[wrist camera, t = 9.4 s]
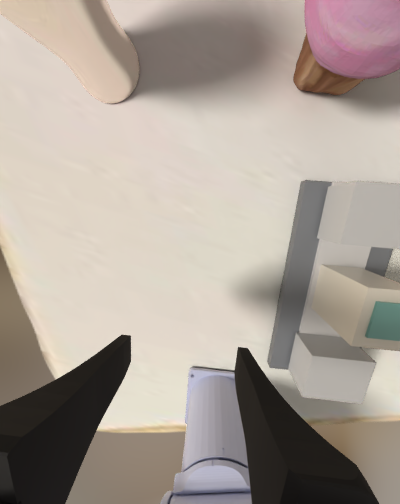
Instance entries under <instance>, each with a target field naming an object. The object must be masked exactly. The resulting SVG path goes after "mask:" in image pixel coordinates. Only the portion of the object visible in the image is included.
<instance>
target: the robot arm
mask: <svg viewBox="0 0 400 504" xmlns="http://www.w3.org/2000/svg"><path fill="white" fill-rule="evenodd" d="M130 362H131V336H129V335H121V336H119V337H118V338H117V339H115V340H114V341H113V342H112V343H110V344H109V345H108V346H106V347H105V348H104V349H102V350H101V351H100V352H98V353H97V354H96V355H94V356H93V357H91V358H90V359H88V360H87V361H85V362H84V363H82V364H81V365H80V366H78V367H76V368H75V369H73V370H72V371H70V372H68V373H67V374H65V375H63V376H62V377H60V378H58V379H56V380H54V381H53V382H51V383H49V384H47V385H45V386H43V387H41V388H39V389H37V390H35V391H33V392H31V393H29V394H27V395H25V396H22V397H20V398H18V399H16V400H13V401H11V402H9V403H6V404H4V405H1V406H0V504H65V502H66V500H67V498H68V495H69V493H70V491H71V488H72V486H73V483H74V481H75V478H76V476H77V473H78V471H79V469H80V466H81V464H82V462H83V460H84V457H85V455H86V453H87V450H88V448H89V446H90V443H91V441H92V439H93V437H94V434H95V432H96V430H97V428H98V426H99V424H100V422H101V420H102V418H103V416H104V414H105V412H106V410H107V408H108V407H109V405H110V403H111V401H112V399H113V397H114V396H115V394H116V392H117V390H118V388H119V386H120V385H121V383H122V381H123V379H124V377H125V375H126V372H127V370H128V367H129V365H130ZM191 374H193V375H191ZM185 423H186V424H187V427H186V436H185V445H184V454H183V463H182V472H181V473H176V475H175V481H174V489H173V491H168V492H166V493H165V495H164V497H163V499H162V501H161V503H160V504H379V502H378V501H377V499H376V497H375V495H374V494H373V492H372V490H371V488H370V486H369V485H368V483H367V481H366V480H365V478H364V476H363V475H362V473H361V472H360V470H359V469H358V467H357V465H356V464H354V463H353V462H352V461H350V460H349V459H348V458H347V457H345V456H344V455H343V454H342V453H340V452H339V451H338V450H337V449H336V448H334V447H333V446H332V445H331V444H329V443H328V442H327V441H326V440H325V439H324V438H323V437H322V436H320V435H319V434H318V433H317V432H316V431H315V430H314V429H313V428H312V427H311V426H309V425H308V424H307V423H306V422H305V421H304V420H303V419H302V418H301V417H300V416H299V415H298V414H297V413H296V412H295V411H294V410H293V408H292V407H291V406H290V405H289V404H288V403H287V402H286V401H285V400H284V398H283V397H282V396H281V395H280V394H279V392H278V391H277V390H276V389H275V387H274V386H273V385H272V384H271V382H270V381H269V380H268V378H267V377H266V375H265V374H264V372H263V371H262V370H261V368H260V367H259V365H258V364H257V362H256V361H255V359H254V357H253V356H252V354H251V353H250V351H249V350H248V348H241V347H238V351H237V358H236V365H235V372H229V371H220V370H211V369H202V368H194V367H193V368H190V369H189V378H188V391H187V404H186V417H185Z"/></svg>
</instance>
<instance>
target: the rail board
mask: <svg viewBox="0 0 400 504" xmlns="http://www.w3.org/2000/svg"><path fill="white" fill-rule="evenodd" d="M393 249H400V184H393V183H379V182H365V181H353V182H324V181H310V180H305V181H302V182H301V185H300V190H299V196H298V201H297V206H296V212H295V217H294V222H293V228H292V233H291V238H290V244H289V249H288V254H287V260H286V265H285V270H284V276H283V281H282V286H281V291H280V297H279V302H278V307H277V313H276V318H275V323H274V329H273V334H272V339H271V345H270V350H269V355H268V361H267V362H268V364H269V367H270V368H278V369H287V370H289V371H290V374H291V376H292V378H293V380H294V382H295V384H296V386H297V388H298V390H299V392H300V394H301V396H302V397H305V398H314V399H322V400H331V401H340V402H348V403H357V404H362V403H363V400H364V397H365V395H366V392H367V389H368V386H369V383H370V380H371V377H372V374H373V371H374V368H375V365H376V362H375V361H374V360H373V359H372V358H371V357H370V356H369V355H367V354H366V353H365V352H364V351H363V350H362V349H361V348H362V347H354V346H350V345H349V344H348V343H347V342H346V341H345V340H344V339H343V338H342V337H341V336H340V335H339V334H338V333H337V332H336V331H335V330H334V329H333V328H332V327H331V326H330V325H329V324H328V323H327V322H326V321H325V320H323V319H322V318H321V317H320V316H319V315H318V314H317V313H316V312H315V311H314V310H313V309H312V308H311V306H312V302H313V297H314V293H315V289H316V284H317V280H318V275H319V271H320V267H321V264H322V265H333V266H345V267H357V268H362V269H365V270H367V271H370V272H373V273H375V274H378V275H380V276H383V277H384V275H385V272H386V269H387V266H388V263H389V260H390V257H391V253H392V250H393Z"/></svg>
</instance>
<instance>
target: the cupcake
mask: <svg viewBox="0 0 400 504" xmlns="http://www.w3.org/2000/svg"><path fill="white" fill-rule="evenodd" d="M305 26H306V36H305V39H304V43H303V47H302V50H301V53H300V56H299V58H298V61H297V64H296V70H295V74H294V83H295V85H296V86H297V88H298V89H299V90H304V91H311V92H316V93H318V92H324V93H329V94H333V95H341V94H344V93H346V92H348V91H349V90H351V89H352V88H354V87H355V86H356V85H358V84H359V83H360V82H362V81H363V80H365V79H369V78H378V77H381V76H385V75H388V74H390V73H392V72H395V71H397V70H398V69H400V0H305Z"/></svg>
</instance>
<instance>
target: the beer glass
mask: <svg viewBox="0 0 400 504" xmlns="http://www.w3.org/2000/svg"><path fill="white" fill-rule="evenodd" d="M0 14H1V15H2V16H3V17H5V18H6V19H7V20H9V21H10V22H11V23H13V24H14V25H15V26H17V27H18V28H20V29H21V30H22V31H24V32H25V33H26V34H28V35H29V36H30V37H32V38H33V39H35V40H36V41H37V42H39V43H40V44H42V45H43V46H44V47H46V48H47V49H48V50H50V51H51V52H52V53H54V54H55V55H56V56H58V57H59V58H60V59H61V60H62V61H63V62H65V63H66V64H67V66H68V67H69V68H70V69H71V70H72V71H73V73H74V74H75V76H76V77H77V78H78V80H79V81H80V83H81V84H82V86H83V87H84V88H85V89H86V91H87V92H88V93H89V94H90V95H91V96H93V97H94V98H95V99H97V100H99V101H101V102H104V103H109V104H113V103H118V102H121V101H123V100H125V99H126V98H127V97H129V96H130V94H131V93H132V92H133V90H134V89H135V87H136V85H137V82H138V78H139V60H138V55H137V52H136V50H135V47H134V45H133V44H132V42H131V40H130V39H129V37H128V36H127V34H126V33H125V32H124V30H123V29H122V28H121V26H120V25H119V23H118V22H117V20H116V19H115V17H114V15H113V13H112V11H111V9H110V6H109V4H108V2H107V0H0Z"/></svg>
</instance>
